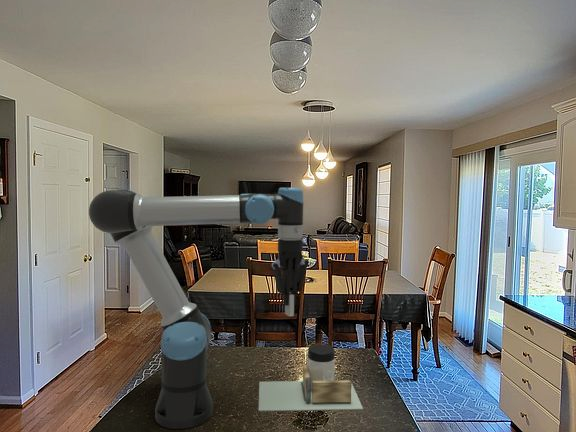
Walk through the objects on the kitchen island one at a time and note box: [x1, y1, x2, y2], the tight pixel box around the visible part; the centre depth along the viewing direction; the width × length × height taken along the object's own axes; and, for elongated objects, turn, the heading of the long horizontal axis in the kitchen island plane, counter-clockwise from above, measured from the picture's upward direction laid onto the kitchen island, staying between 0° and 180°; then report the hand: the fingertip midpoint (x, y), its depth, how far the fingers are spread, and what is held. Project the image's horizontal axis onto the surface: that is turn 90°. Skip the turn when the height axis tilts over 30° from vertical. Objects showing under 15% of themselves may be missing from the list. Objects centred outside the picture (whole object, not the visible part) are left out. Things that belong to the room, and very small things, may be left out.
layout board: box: [258, 380, 364, 412], centre depth 124 cm, size 29×17×1 cm, turn 93°
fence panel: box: [302, 363, 310, 398], centre depth 125 cm, size 11×2×6 cm, turn 2°
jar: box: [306, 343, 336, 391], centre depth 128 cm, size 9×8×12 cm
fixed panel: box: [312, 379, 353, 403], centre depth 119 cm, size 11×2×6 cm, turn 93°
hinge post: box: [306, 377, 311, 404], centre depth 119 cm, size 1×1×8 cm
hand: (289, 315), depth 128 cm, fingers closed
